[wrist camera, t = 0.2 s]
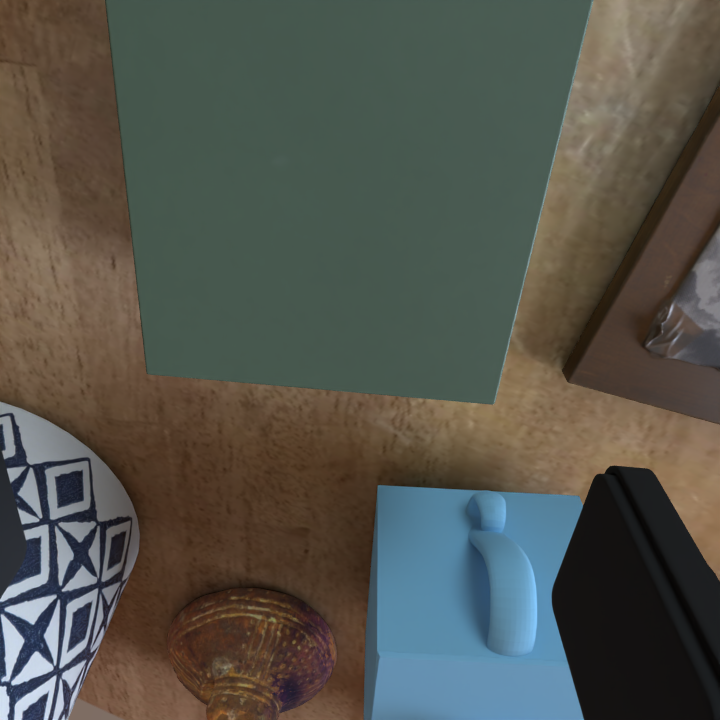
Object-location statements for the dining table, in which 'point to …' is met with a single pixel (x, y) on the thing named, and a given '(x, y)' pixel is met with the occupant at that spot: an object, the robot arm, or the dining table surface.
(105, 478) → the planter
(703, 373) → the picture frame
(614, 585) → the robot arm
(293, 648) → the bell
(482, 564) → the teapot
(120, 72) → the cabinet
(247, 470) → the dining table surface
